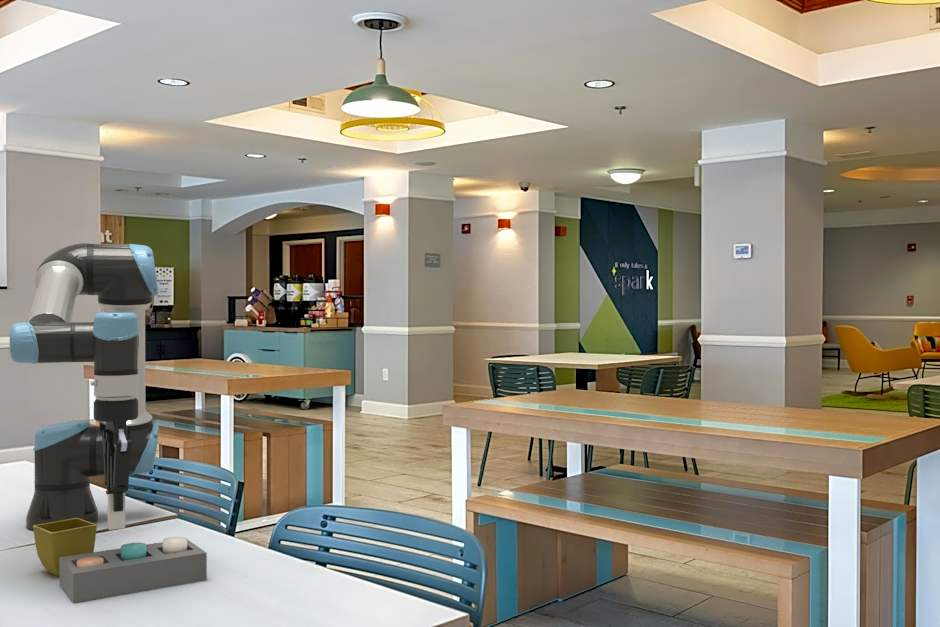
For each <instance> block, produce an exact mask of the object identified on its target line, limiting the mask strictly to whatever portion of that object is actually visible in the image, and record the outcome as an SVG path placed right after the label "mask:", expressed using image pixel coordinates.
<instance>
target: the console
mask: <svg viewBox="0 0 940 627" xmlns="http://www.w3.org/2000/svg"><path fill="white" fill-rule="evenodd" d="M207 554H208V553H207V552H206V551H205V550H204V549H202V548H201V547H199V546H197V545H196V544H195V543H193V542H192V541H190V539H188V538H187V551H182V552H175V553H169V554H163V541H160V542H154V543H148V544H147V543H146V557H143V558H137V559H130V560H124V561H121V547H120V548H114V549H107V550H106V549H105V550H101V551H100V550H99V551H95V552H94V551H93V552H92V553H85V554H79V555H72V556H65V557H59V576H58V577H59V578H58V580H59V581H58V582H59V586H60V588H61V589H62V590H63V591H64V593H65V594H66V595H67V597H68V598H69V599H70V600H71V602H72V603H73V604H77V603H82V602H86V601H87V602H88V601H93V600H99V599H104V598H110V597H111V598H112V597H116V596H120V595H121V596H122V595H128V594H132V593H133V594H134V593H139V592H143V591H149V590H156V589H162V588H168V587H173V586H178V585H184V584H189V583H196V582H202V581H207V578H208V576H207V574H208V573H207V572H208V571H207V568H208V567H207V563H208V562H207V561H208V560H207V559H208V555H207ZM86 557H102V558H103V559H104V564H98V565H91V566H85V567H79V568H77V560H79V559H82V558H86Z"/></svg>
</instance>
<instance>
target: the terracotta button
mask: <svg viewBox="0 0 940 627" xmlns="http://www.w3.org/2000/svg"><path fill="white" fill-rule="evenodd" d="M98 564H104V559H103V558H102V557H86V558H82V559H79V560H77V568H79V567H85V566H91V565H98Z"/></svg>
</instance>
